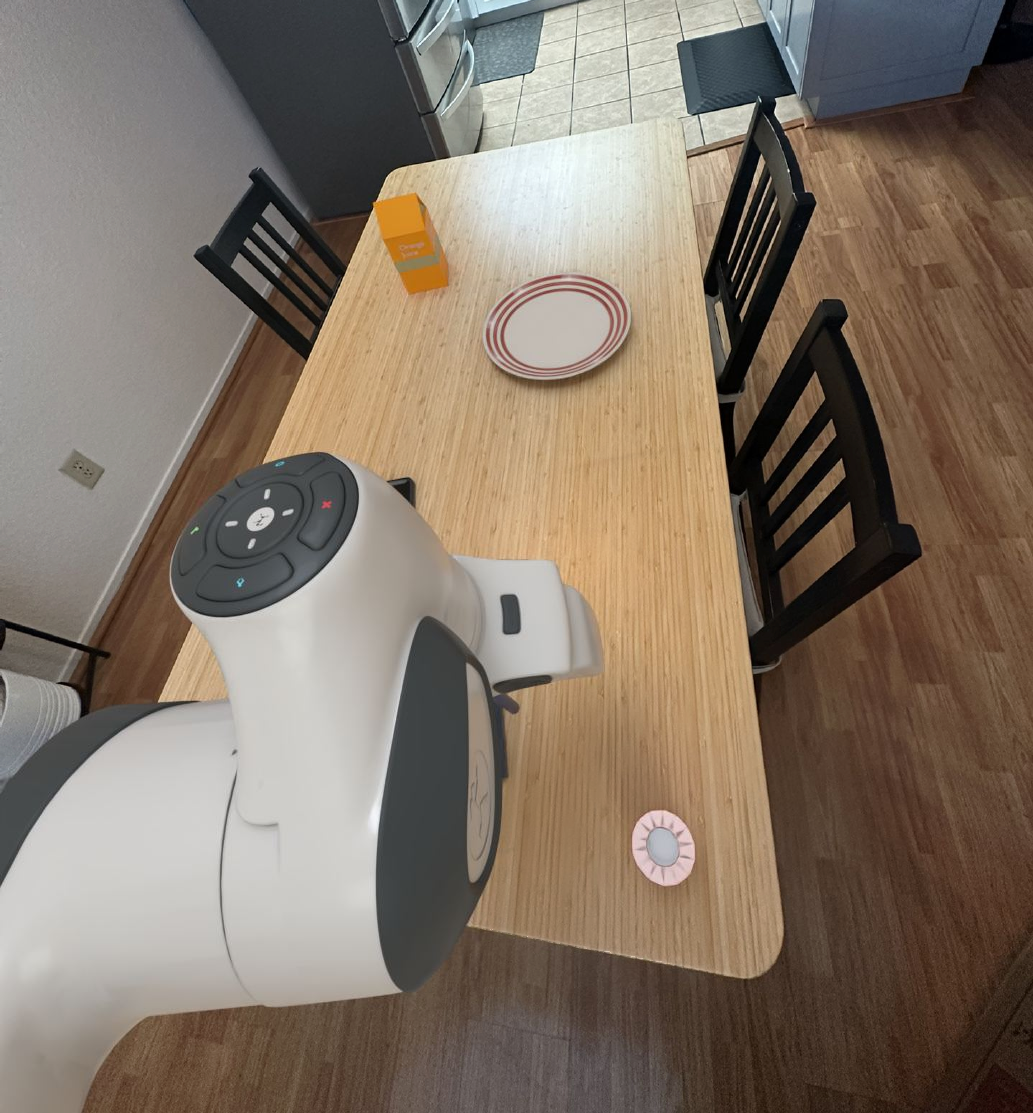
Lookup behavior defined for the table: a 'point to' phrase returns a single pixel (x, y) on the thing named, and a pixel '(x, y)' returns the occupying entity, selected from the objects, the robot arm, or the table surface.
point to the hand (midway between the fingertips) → (477, 681)
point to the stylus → (507, 703)
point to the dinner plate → (556, 326)
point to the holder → (663, 847)
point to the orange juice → (412, 242)
